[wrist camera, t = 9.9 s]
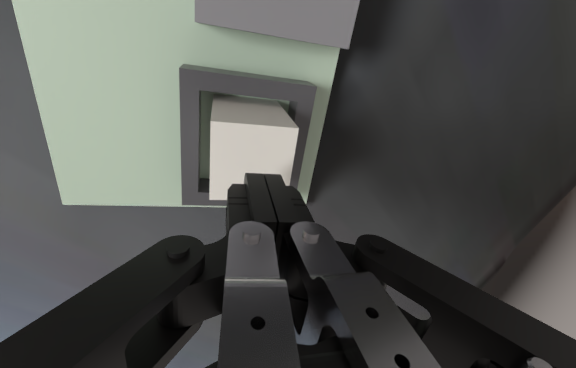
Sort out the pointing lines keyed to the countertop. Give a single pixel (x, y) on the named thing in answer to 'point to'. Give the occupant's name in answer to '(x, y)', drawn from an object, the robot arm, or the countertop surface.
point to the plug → (248, 141)
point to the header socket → (238, 84)
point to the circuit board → (162, 82)
